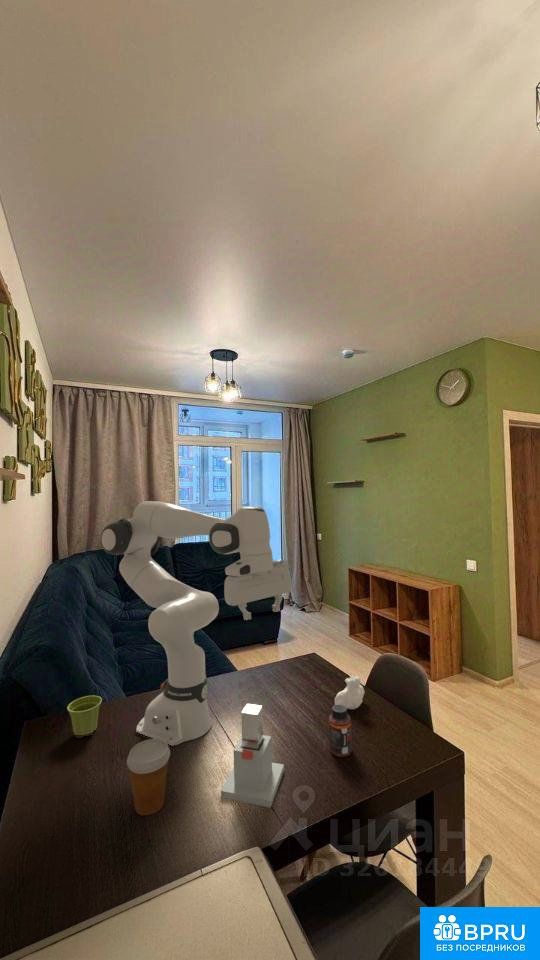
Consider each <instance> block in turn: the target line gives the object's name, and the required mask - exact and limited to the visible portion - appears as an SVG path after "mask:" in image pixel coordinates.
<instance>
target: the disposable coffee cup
mask: <svg viewBox="0 0 540 960" xmlns="http://www.w3.org/2000/svg"><path fill="white" fill-rule="evenodd" d="M170 756H171V749H170V747H169V745H168V744H167V743H166V742H165V741H163V740H161V739H151V738H149V739H145V740H143V741H139V742H138V743H137V744H134V746H133V747H132V748H131V749H130V751H129V754H128V756H127V759H126V765H127V767H128V770H129V776H130V782H131V790H132V797H133V803H134V810H136V811H135V812H137V813H136V814H137V815H139V814H140V815H139V816H143V815H147V816H151V815H153V813H154V814H156V813H157V812H159V811H160V810H161V809H162V807H164V806H163V805H164V803H165V795H166V794H165V793H166V784H167V772H168V765H169V759H170ZM150 814H151V815H150Z"/></svg>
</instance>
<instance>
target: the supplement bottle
mask: <svg viewBox="0 0 540 960" xmlns="http://www.w3.org/2000/svg"><path fill="white" fill-rule="evenodd" d="M328 735H329V737H328V738H329V750H330V752H331V754H332V755H334V756H336V757H339V758H346V757H348V756H350V755H351V753H352V750H353V745H352V720H351V716H350V715H349V714H348V709H347V708H346V707H345V706H343V705H335V704H334V705H333V706H332V707H331V714H329V716H328Z"/></svg>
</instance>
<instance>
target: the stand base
mask: <svg viewBox="0 0 540 960" xmlns="http://www.w3.org/2000/svg"><path fill="white" fill-rule="evenodd" d="M272 750H273V749H272V736H270V735H264V734H263V744H262V746H261V748H260V750H259V751H256V750H250V749H244V748H242V736H241V737H240V738H239V740H238V741H237V744H236V745H235V747H234V749H233V768H232V770H231V772H230V774H229V775H228V777H227V779H226V781H225V782H224V783H223V786H222V787H221V788H222V789H221V790H220V798H223V799H228V800H232V801H236V802H242V803H245V804H250V805H255V806H256V805H257V806H262V807H265V808H272V806H273V803H274V799H275V797H276V794H277V792H278V789H279V785H280V783H281V780H282V778H283V776H284V771H285V764H284V763H283V764H282V763H277V762H273V754H272V753H273V751H272Z"/></svg>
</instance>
